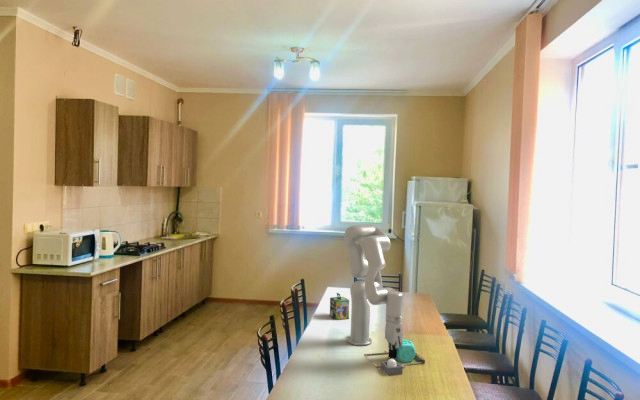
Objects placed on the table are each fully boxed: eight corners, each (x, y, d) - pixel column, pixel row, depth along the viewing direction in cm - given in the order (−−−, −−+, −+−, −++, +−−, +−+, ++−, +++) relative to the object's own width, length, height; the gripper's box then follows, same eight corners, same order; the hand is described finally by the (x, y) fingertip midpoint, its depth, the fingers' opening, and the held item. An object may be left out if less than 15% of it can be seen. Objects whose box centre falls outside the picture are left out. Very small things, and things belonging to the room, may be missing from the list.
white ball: (385, 367, 195) (385, 357, 195) (393, 366, 197) (394, 356, 196) (389, 371, 191) (389, 361, 191) (398, 370, 193) (398, 360, 192)
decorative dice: (392, 356, 211) (392, 339, 210) (407, 355, 213) (408, 338, 213) (399, 363, 203) (400, 345, 203) (415, 361, 205) (416, 344, 205)
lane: (362, 353, 213) (362, 349, 213) (406, 349, 220) (407, 346, 220) (379, 370, 194) (379, 366, 194) (427, 365, 201) (427, 362, 201)
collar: (380, 368, 196) (381, 361, 196) (395, 367, 198) (395, 360, 198) (387, 375, 190) (387, 368, 190) (402, 373, 192) (402, 366, 192)
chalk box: (349, 319, 266) (350, 294, 266) (335, 320, 263) (336, 295, 262) (342, 314, 275) (343, 290, 274) (329, 315, 272) (330, 291, 271)
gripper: (408, 323, 200) (407, 363, 201) (394, 313, 214) (392, 350, 215) (393, 323, 198) (391, 364, 199) (379, 314, 212) (378, 351, 213)
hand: (392, 357), depth 207 cm, fingers closed
